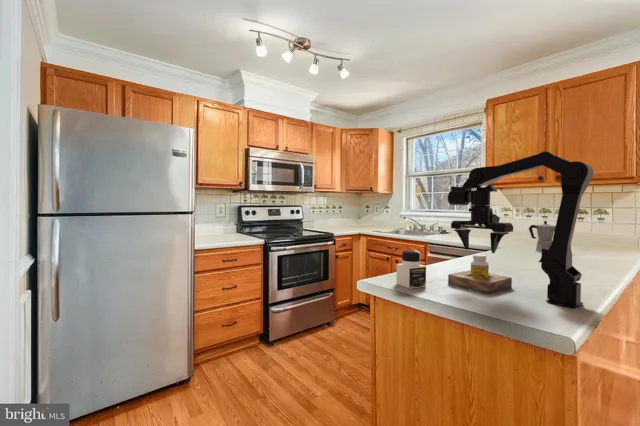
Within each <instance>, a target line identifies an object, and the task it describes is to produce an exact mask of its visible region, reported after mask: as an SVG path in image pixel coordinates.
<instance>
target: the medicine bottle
mask: <svg viewBox="0 0 640 426" xmlns="http://www.w3.org/2000/svg"><path fill="white" fill-rule="evenodd" d="M396 284H397V285H398V286H402V287H404V288H406V289H410V290H411V289H418V288H425V287H427V266H426V265H423V264H421V252H420V251H418V250H415V249H414V250H413V249H411V250H410V249H407V250H406V249H405V250H403V251H402V252H401V263H397V264H396Z"/></svg>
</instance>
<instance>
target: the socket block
mask: <svg viewBox="0 0 640 426" xmlns="http://www.w3.org/2000/svg"><path fill="white" fill-rule="evenodd" d="M447 276H448V277H447V281H448V282H447V283H448V286H449V285H450V286H453V287H457V288H461V289H465V290H468V291H473V292H477V293H480V294H484V295H492V294H495V293H499V292H502V291H507V290H509V289H510V290H511V289H512V286H513V285H512V284H513V283H512V281H513V280H512V279H513V278H512V277H510V276H505V275H500V274H495V273H489V278H487V279H479V278H475V277H471V269H469V270H465V271H464V270H463V271H459V272H453V273H449V274H447Z"/></svg>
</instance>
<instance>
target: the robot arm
mask: <svg viewBox="0 0 640 426" xmlns="http://www.w3.org/2000/svg"><path fill="white" fill-rule="evenodd" d="M545 167H546V168H547V169H549V170H551V171H554V172H556V173H558V174H560V188H561V194H562V195H561V200H560V205H559V210H558V213H557V219H556V223H555V226H556V227H555V231H554V234H553V237H552V244H551V246H550V247H546V248H543V249H542V252H541V255H540V258H539V259H540V260H539V261H538V263H541V264H540V267H541V270H542V271H543V272H544V273H545V274H546V275H547V276H548V279H549V283H548V284H547V292H546V293H547V294H546V295H547V297H546V298H547V299H546V303H550V304H554V305H558V306H562V307H568V308H571V309H575V308H578V307H580V306H583V305H584V302H582V297H581V296H582V295H581V294H582V293H581V291H582V283H580V282H579V281H580V280H581V278H582V276H583V274H582V273H581V272H580V271H579V270H578V269H577V268H575V266H573V252H572V241H573V237H574V232H575V228H576V223H577V218H578V214H579V210H580V206H581V201H582V196H583V195H584V193H585V192H586V190H587V188H588V186H589V185H590V183H591V181H592V178H593V175H594V169H593V167H591V165H589V164H587V163H585V162H583V161H577V160H576V161H570V160H566V159H564V158H562V157H560V156H557V155H555V154H554V153H553V152H550V151H547V150H546V151H541V152H539V153H536V154H533V155H530V156H527V157H522V158H520V159H517V160H513V161H510V162H506V163H503V164H500V165H494V166H493V165H492V166H481V167H475V168H473V169H471V170H470V172H469V174H468V178H466V180H465V182H464V183H463V184H462V186H450V190H449V191H448V195H447V203H448V204H449V206H469V204H470V208H468V212H470V219H469V220H463V219H462V220H460V219H459V220H458V219H457V220H452V221H451V224H450V229H453V231H454V232H455V233H456V234H457V236H458V237H459V239H460V240H461V243H462V245H463V246H464V249H465V250H469V249H470V248H469V247H470V232H471V230H472V229H481V230H482V229H483V230H491V231H492V232H490V233H489V234H490V237H489V238H490V250H491V254H495V253H496V252H497V248H498V246H499V244H500V242H501V240H502V239H503V237H504V236H505V235H509V233H511V232H512V233H513V232H514V225H513V224H512V222H501V221H500V219H501V218H500V217H499V216H498V215H497V214H494V212H493V208H491V192H492V193H493V192H498V191H499V190H498V189H497V188H496V187H494V185H493V183H495V182H498V181H499V180H501V179H502V178H506V177H509V176H513V175H517V174H520V173H524V172H528V171H532V170H536V169H541V168H545Z"/></svg>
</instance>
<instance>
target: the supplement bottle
mask: <svg viewBox="0 0 640 426" xmlns="http://www.w3.org/2000/svg"><path fill="white" fill-rule="evenodd" d="M472 259H473V260H472V261H471V262H470V270H471V277H475V278H479V279H487V278H489V268H490V267H489V262H488V261H486V260H487V255H484V254H472Z"/></svg>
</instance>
